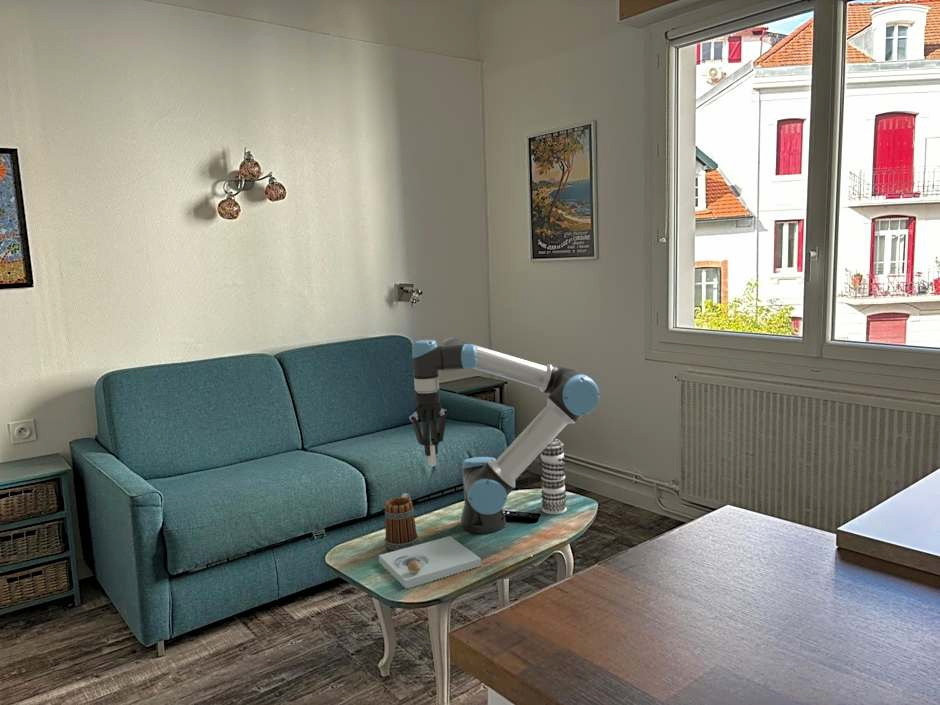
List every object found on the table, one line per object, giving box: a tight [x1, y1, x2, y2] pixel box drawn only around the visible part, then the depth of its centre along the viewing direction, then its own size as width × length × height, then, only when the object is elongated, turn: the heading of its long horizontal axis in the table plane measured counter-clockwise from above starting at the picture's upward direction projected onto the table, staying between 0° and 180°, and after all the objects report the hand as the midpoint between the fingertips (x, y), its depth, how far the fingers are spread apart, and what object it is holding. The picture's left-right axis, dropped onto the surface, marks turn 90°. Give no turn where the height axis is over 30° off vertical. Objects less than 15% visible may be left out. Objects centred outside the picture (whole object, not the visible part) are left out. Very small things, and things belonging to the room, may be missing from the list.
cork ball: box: [408, 560, 420, 574], centre depth 204 cm, size 4×4×4 cm
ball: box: [407, 557, 419, 566], centre depth 212 cm, size 4×4×4 cm
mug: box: [384, 493, 419, 552], centre depth 230 cm, size 16×11×15 cm
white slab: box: [378, 535, 482, 590], centre depth 215 cm, size 24×20×2 cm
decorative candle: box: [538, 438, 568, 515], centre depth 251 cm, size 9×9×25 cm
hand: (432, 465), depth 224 cm, fingers closed
